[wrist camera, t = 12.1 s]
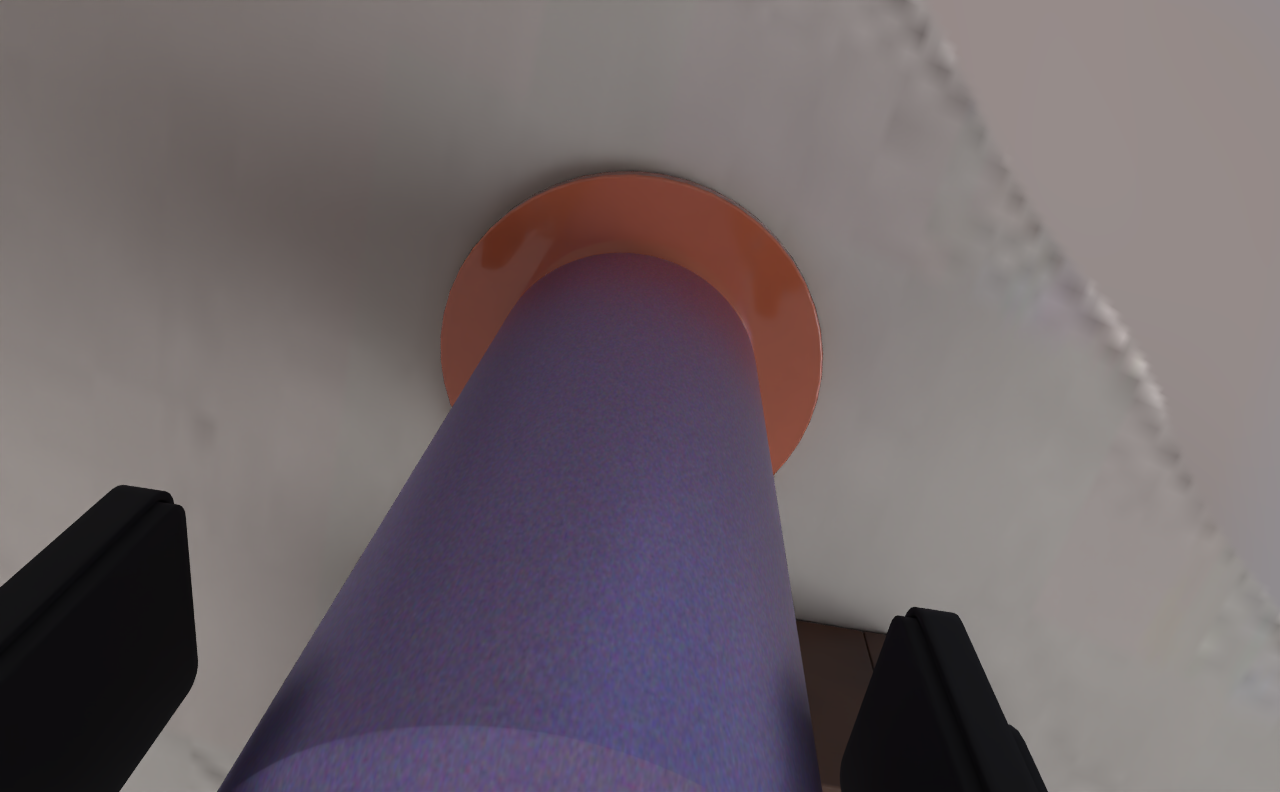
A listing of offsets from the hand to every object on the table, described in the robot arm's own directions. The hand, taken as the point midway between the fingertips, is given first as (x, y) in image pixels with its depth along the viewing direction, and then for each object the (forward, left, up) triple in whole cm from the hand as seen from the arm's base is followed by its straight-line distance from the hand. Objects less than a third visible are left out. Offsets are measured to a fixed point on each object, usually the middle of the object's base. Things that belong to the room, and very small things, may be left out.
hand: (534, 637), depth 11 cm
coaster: (+1, 0, -10) cm, 10 cm away
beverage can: (+1, 0, -10) cm, 10 cm away
